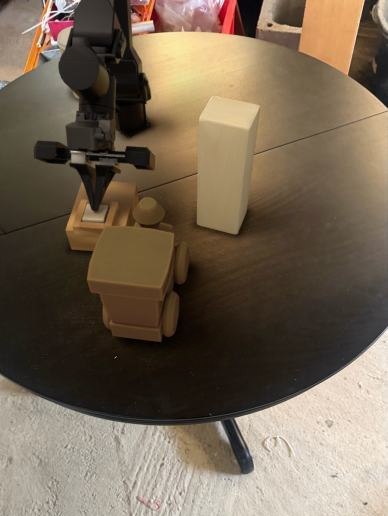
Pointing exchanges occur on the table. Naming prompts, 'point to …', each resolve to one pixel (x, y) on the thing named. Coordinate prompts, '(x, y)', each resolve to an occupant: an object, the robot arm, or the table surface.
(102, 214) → the white rounded block
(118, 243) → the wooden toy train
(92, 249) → the box with white insert
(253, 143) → the tall cream block
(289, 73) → the table surface
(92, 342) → the table surface
